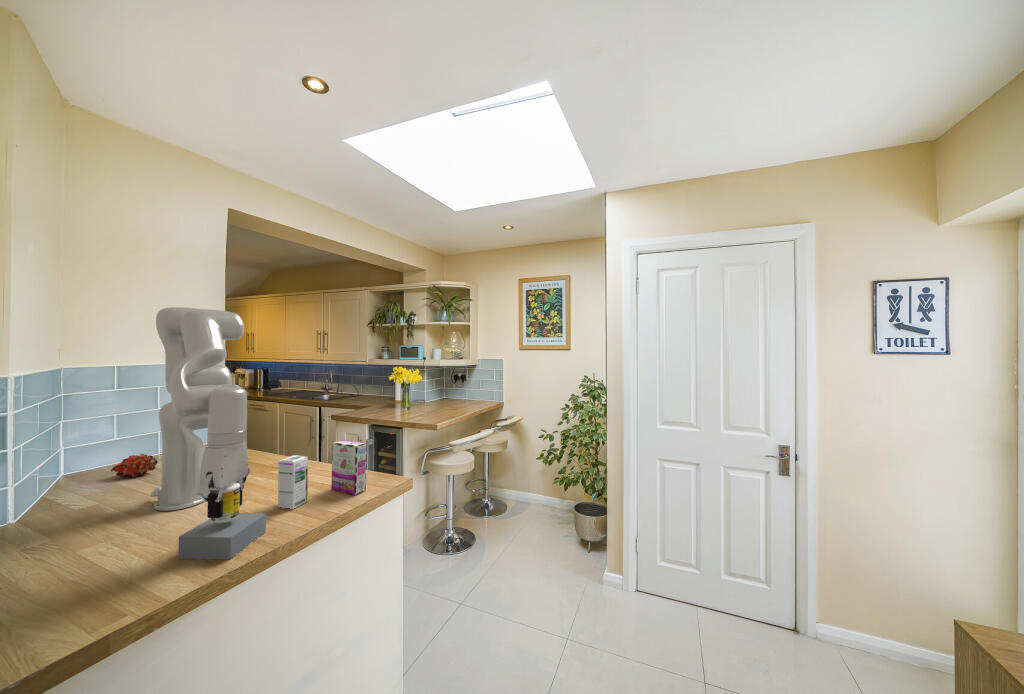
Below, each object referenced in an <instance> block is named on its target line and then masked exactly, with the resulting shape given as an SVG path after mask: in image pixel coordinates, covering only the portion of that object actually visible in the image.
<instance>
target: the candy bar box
mask: <svg viewBox="0 0 1024 694" xmlns="http://www.w3.org/2000/svg"><path fill="white" fill-rule="evenodd" d="M367 446H368V443H367V442H362V441H361V442H360V441H355V440H346V439H342V440H337V441H334V442H332V446H331V447H332V448H331V449H332V452H331V457H332V458H331V486H330V487H331V491H333V490H335V491H334V492H338V491H339V493H342V492H343V493H344V494H348V495H351V496H352V495H353V496H357V495H359V494H362V493H365V491H367V490H366V489H367V457H368V456H367V453H368V452H367V450H368V448H367Z"/></svg>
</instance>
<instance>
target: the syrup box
mask: <svg viewBox="0 0 1024 694" xmlns="http://www.w3.org/2000/svg"><path fill="white" fill-rule="evenodd" d="M308 461H309V457H308V456H306V455H301V454H299V455H296V454H295V455H293V454H292V455H291V456H289V457H286V458H283V459H280V460H278V462H277V465H278V466H277V507H278V508H280V507H281V508H280V509H285V508H290V509H289V510H295V509H296V508H298V507H300V506H302V505H303V504H305V502H306V503H307V502H308V498H309V497H308V495H309V493H308V490H309V489H308V488H309V487H308V479H309V476H308V475H309V473H308V471H309V469H308V468H309V467H308V465H309V462H308ZM294 508H295V509H294Z"/></svg>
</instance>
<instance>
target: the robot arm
mask: <svg viewBox="0 0 1024 694" xmlns="http://www.w3.org/2000/svg"><path fill="white" fill-rule="evenodd" d="M155 326H156V332H157V335H158V336H159V339H160V341H161V343H162V345H163V348H164V355H165V357H164V358H165V359H164V361H165V362H164V363H165V365H164V366H165V371H164V372H165V375H164V376H165V389H166V391H167V393H169V394H170V398H171V401H170V402H167V403H165V404H164V405H162V406H161V407H160V409H159V410H158V411H159V412H158V420H159V426H160V427H159V428H160V432H161V441H162V444H161V487H155V488H154V490H153V491H152V492H150V494H149V496H150V497H152V498H153V497H154V498H155V497H157V501H155V502H154V503H153V509H155V510H156V511H160V512H169V511H177V510H183V509H187V508H190V507H191V508H192V507H193V506H197V505H199V504H202V503H203V502H205V503H207V509H206V510H207V512H206V513H207V518H208V519H210V518H221V517H222V516H223V500H221V497H222V493H223V489H224V488H225V487H227V486H229V485H230V484H232V483H234V482H237V483H239V484H240V504H239V507H241V506H242V505H243V490H244V488H245V483H246V482H247V478H248V476H249V474H250V473H251V469H250V468H249V456H248V455H249V453H248V445H247V416H248V415H247V412H248V410H247V406H248V393H247V391H246V389H245V388H242V386H239V385H238V384H234V383H233V380H232V373H231V371H230V369H229V368H228V367H227V365H224V364H220V363H223V361H225V359H226V358H227V355H228V353H227V349H226V348H227V347H226V346H225V342H224V341H237V340H238V341H239V340H240V339H241V338H243V336H244V333H245V324H244V321H243V319H242V317H241V316H240V315H239V314H238V313H236V312H232V311H227V310H222V309H221V310H219V309H209V308H208V309H205V308H196V307H184V306H183V307H182V306H177V307H176V306H174V307H171V306H170V307H165V308H162V309H160V310H159V311H158V312H157V313H156V316H155ZM201 429H207V438H206V439H207V442H206V443H207V445H206V447H205V448H204V441H203V440H202V438H201V437H199V436H198V435H197V434H195V433H194V431H195V430H197V431H198V430H201ZM214 486H216V487H214ZM214 490H217V494H216V495H215V494H214V493H213V492H214Z"/></svg>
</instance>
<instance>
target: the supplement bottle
mask: <svg viewBox="0 0 1024 694" xmlns="http://www.w3.org/2000/svg"><path fill="white" fill-rule="evenodd" d="M214 487H216V485H215V486H214ZM213 493H214V494H215V495H216V494H217V490H214V492H213ZM221 500H223V516H222V517H221V518H211V521H212V522H213V523H225V522H229V521H231V520H234V519H235V518H237V517H238V515H239V513H240V506H239V504H240V484H239V483H237V482H234V483H232V484H230V485H229V486H227V487H225V488H224V489H223V493H222V497H221Z"/></svg>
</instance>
